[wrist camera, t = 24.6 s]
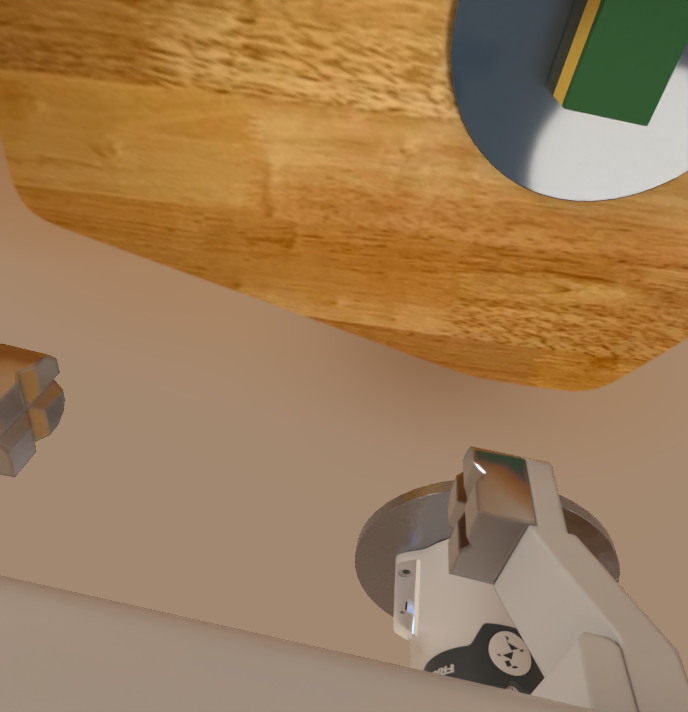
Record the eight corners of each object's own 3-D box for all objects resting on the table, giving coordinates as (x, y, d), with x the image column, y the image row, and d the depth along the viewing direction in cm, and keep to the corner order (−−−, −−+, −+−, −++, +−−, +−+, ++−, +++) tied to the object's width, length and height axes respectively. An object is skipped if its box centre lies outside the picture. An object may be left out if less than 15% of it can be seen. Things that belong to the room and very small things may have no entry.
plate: (690, 223, 36) (695, 228, 35) (417, 166, 36) (417, 170, 35) (901, -147, 25) (913, -150, 24) (511, -223, 25) (513, -228, 25)
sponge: (629, 112, 32) (647, 126, 29) (552, 96, 32) (563, 109, 29) (695, -35, 28) (724, -35, 25) (606, -53, 28) (625, -55, 25)
